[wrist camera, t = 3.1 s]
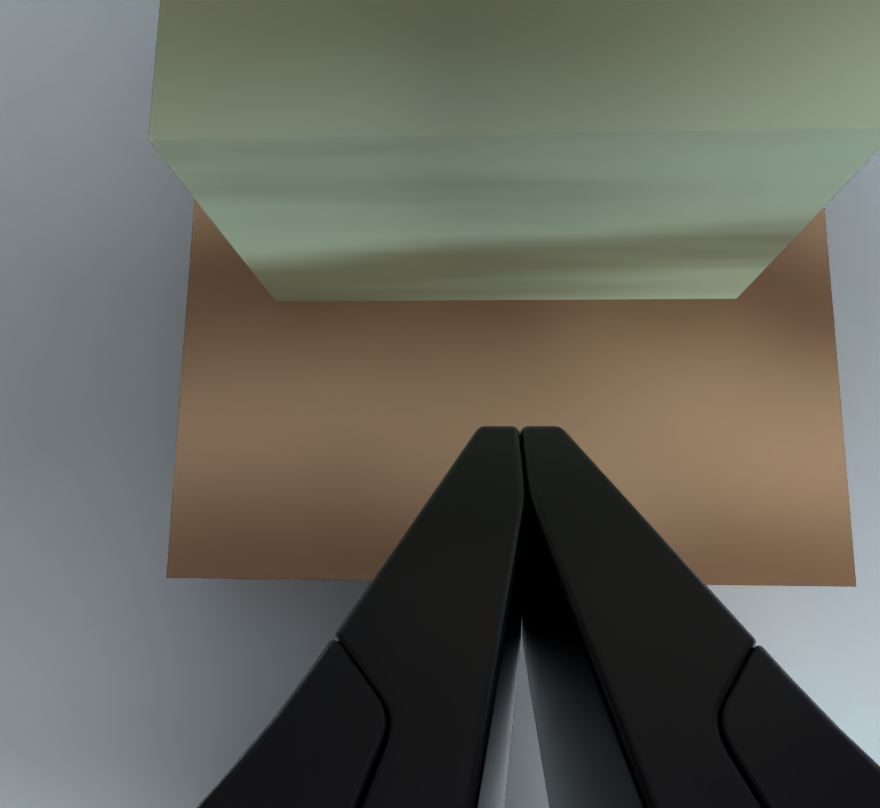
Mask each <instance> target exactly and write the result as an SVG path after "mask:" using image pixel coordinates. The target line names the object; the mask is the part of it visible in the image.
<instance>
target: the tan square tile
mask: <svg viewBox="0 0 880 808" xmlns="http://www.w3.org/2000/svg"><path fill="white" fill-rule="evenodd" d="M481 426H514V427H516V428H517V429H518V430H519V432H520V431H521V430H522V428H524V427H526V426H559V427H561V428H562V429H564V430H565V431H566V432H567V434H568V435H569V436H570V437H571V438H572V439H573V440H574V441H575V442H576V443H577V445H578V446H579V447H580V448H581V449H582V450H583V451H584V452H585V453H586V454H587V455H588V457H589V458H590V459H591V460H592V461H593V462H594V463H595V464H596V465H597V466H598V468H599V469H600V470H601V471H602V472H603V473H604V474H605V475H606V476H607V477H608V478H609V480H610V481H611V482H612V483H613V484H614V485H615V486H616V487H617V488H618V489H619V491H620V492H621V493H622V494H623V495H624V496H625V497H626V498H627V499H628V500H629V502H630V503H631V504H632V505H633V506H634V507H635V508H636V509H637V510H638V511H639V512H640V514H641V515H642V516H643V517H644V518H645V519H646V520H647V521H648V522H649V523H650V525H651V526H652V527H653V528H654V529H655V530H656V531H657V532H658V533H659V534H660V535H661V537H662V538H663V539H664V540H665V541H666V542H667V543H668V544H669V545H670V546H671V548H672V549H673V550H674V551H675V552H676V553H677V554H678V555H679V556H680V557H681V559H682V560H683V561H684V562H685V563H686V564H687V565H688V566H689V567H690V568H691V569H692V571H693V572H694V573H695V574H696V575H697V576H698V577H699V578H700V579H701V580H702V582H703V583H704V584H705V585H775V586H854V587H856V578H855V566H854V554H853V542H852V530H851V519H850V507H849V495H848V483H847V471H846V459H845V447H844V436H843V424H842V412H841V400H840V388H839V376H838V365H837V353H836V341H835V329H834V317H833V305H832V294H831V282H830V270H829V258H828V246H827V234H826V222H825V211H824V208H823V209H822V210H821V211H820V212H819V213H818V214H817V215H816V216H815V217H814V218H813V219H812V220H811V221H810V222H809V223H808V224H807V225H806V226H805V227H804V228H803V230H802V231H801V232H800V233H799V234H798V235H797V236H796V237H795V238H794V239H793V240H792V241H791V242H790V243H789V244H788V245H787V246H786V247H785V248H784V249H783V250H782V252H781V253H780V254H779V255H778V256H777V257H776V258H775V259H774V260H773V261H772V262H771V263H770V264H769V265H768V266H767V267H766V268H765V269H764V270H763V271H762V272H761V274H760V275H759V276H758V277H757V278H756V279H755V280H754V281H753V282H752V283H751V284H750V285H749V286H748V287H747V288H746V289H745V290H744V291H743V292H742V293H741V294H740V295H739V297H738V298H737V299H607V300H431V301H275V300H274V298H273V297H272V296H271V295H270V293H269V292H268V291H267V290H266V288H265V287H264V286H263V285H262V283H261V282H260V281H259V279H258V278H257V277H256V276H255V274H254V273H253V272H252V271H251V269H250V268H249V267H248V266H247V264H246V263H245V262H244V261H243V259H242V258H241V257H240V255H239V254H238V253H237V252H236V250H235V249H234V248H233V247H232V245H231V244H230V243H229V242H228V240H227V239H226V238H225V237H224V235H223V234H222V233H221V231H220V230H219V229H218V228H217V226H216V225H215V224H214V223H213V221H212V220H211V219H210V218H209V216H208V215H207V214H206V213H205V211H204V210H203V209H202V207H201V206H200V205H199V204H198V202H197V201H196V200H194V214H193V227H192V241H191V254H190V268H189V281H188V295H187V308H186V322H185V335H184V349H183V362H182V376H181V389H180V403H179V416H178V430H177V443H176V457H175V470H174V484H173V497H172V511H171V524H170V538H169V552H168V565H167V578H226V579H305V580H373V579H374V577H375V576H376V574H377V573H378V571H379V570H380V569H381V567H382V566H383V564H384V563H385V561H386V560H387V558H388V557H389V556H390V554H391V553H392V551H393V550H394V548H395V547H396V545H397V544H398V543H399V541H400V540H401V538H402V537H403V535H404V534H405V532H406V531H407V530H408V528H409V527H410V525H411V524H412V522H413V521H414V519H415V518H416V517H417V515H418V514H419V512H420V511H421V509H422V508H423V507H424V505H425V504H426V502H427V501H428V499H429V498H430V496H431V495H432V494H433V492H434V491H435V489H436V488H437V486H438V485H439V483H440V482H441V481H442V479H443V478H444V476H445V475H446V473H447V472H448V470H449V469H450V468H451V466H452V465H453V463H454V462H455V460H456V459H457V457H458V456H459V455H460V453H461V452H462V450H463V449H464V447H465V446H466V444H467V443H468V442H469V440H470V439H471V437H472V436H473V434H474V433H475V432H476V430H477V429H478V428H480V427H481Z"/></svg>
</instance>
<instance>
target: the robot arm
mask: <svg viewBox="0 0 880 808" xmlns="http://www.w3.org/2000/svg"><path fill="white" fill-rule="evenodd" d="M521 623H522V638H523V646H524V654H525V661H526V668H527V674H528V680H529V686H530V692H531V698H532V704H533V710H534V717H535V723H536V729H537V735H538V741H539V747H540V753H541V759H542V765H543V772H544V778H545V784H546V790H547V796H548V802H549V808H880V766H879V765H878V764H877V763H876V762H875V761H874V760H873V759H872V758H871V757H869V756H868V755H867V754H866V753H865V752H864V751H863V750H862V749H861V748H860V747H859V746H858V745H857V744H856V743H855V742H854V741H853V740H851V739H850V738H849V737H848V736H847V735H846V734H845V733H844V732H843V731H842V730H841V729H840V728H839V727H838V726H837V725H836V724H835V723H834V722H833V721H832V720H831V719H830V718H829V717H828V716H827V715H826V714H825V713H824V712H823V711H822V710H821V709H820V708H819V707H818V705H817V704H816V703H815V702H814V701H813V700H812V699H811V698H810V697H809V696H808V695H807V694H806V693H805V692H804V691H803V690H802V689H801V688H800V687H799V686H798V685H797V684H796V683H795V682H794V681H793V680H792V678H791V677H790V676H789V675H788V674H787V673H786V672H785V671H784V670H783V669H782V668H781V666H780V665H779V664H778V663H777V662H776V661H775V660H774V659H773V658H772V657H771V656H770V654H769V653H768V652H767V651H766V650H765V649H764V648H763V647H762V646H756V641H755V639H754V637H753V636H752V635H751V634H750V633H749V632H748V631H747V630H746V629H745V628H744V626H743V625H742V624H741V623H740V622H739V621H738V620H737V619H736V618H735V617H734V616H733V614H732V613H731V612H730V611H729V610H728V609H727V608H726V607H725V606H724V605H723V603H722V602H721V601H720V600H719V599H718V598H717V597H716V596H715V595H714V594H713V592H712V591H711V590H710V589H709V588H708V587H707V586H706V585H705V584H704V583H703V582H702V580H701V579H700V578H699V577H698V576H697V575H696V574H695V573H694V572H693V571H692V569H691V568H690V567H689V566H688V565H687V564H686V563H685V562H684V561H683V560H682V559H681V557H680V556H679V555H678V554H677V553H676V552H675V551H674V550H673V549H672V548H671V546H670V545H669V544H668V543H667V542H666V541H665V540H664V539H663V538H662V537H661V535H660V534H659V533H658V532H657V531H656V530H655V529H654V528H653V527H652V526H651V525H650V523H649V522H648V521H647V520H646V519H645V518H644V517H643V516H642V515H641V514H640V512H639V511H638V510H637V509H636V508H635V507H634V506H633V505H632V504H631V503H630V502H629V500H628V499H627V498H626V497H625V496H624V495H623V494H622V493H621V492H620V491H619V489H618V488H617V487H616V486H615V485H614V484H613V483H612V482H611V481H610V480H609V478H608V477H607V476H606V475H605V474H604V473H603V472H602V471H601V470H600V469H599V468H598V466H597V465H596V464H595V463H594V462H593V461H592V460H591V459H590V458H589V457H588V455H587V454H586V453H585V452H584V451H583V450H582V449H581V448H580V447H579V446H578V445H577V443H576V442H575V441H574V440H573V439H572V438H571V437H570V436H569V435H568V434H567V432H566V431H565V430H564V429H562V428H561V427H559V426H526V427H524V428H522V430H521V431H520V432H519V430H518V429H517V428H516V427H514V426H481V427H480V428H478V429H477V430H476V432H475V433H474V434H473V436H472V437H471V439H470V440H469V442H468V443H467V444H466V446H465V447H464V449H463V450H462V452H461V453H460V455H459V456H458V457H457V459H456V460H455V462H454V463H453V465H452V466H451V468H450V469H449V470H448V472H447V473H446V475H445V476H444V478H443V479H442V481H441V482H440V483H439V485H438V486H437V488H436V489H435V491H434V492H433V494H432V495H431V496H430V498H429V499H428V501H427V502H426V504H425V505H424V507H423V508H422V509H421V511H420V512H419V514H418V515H417V517H416V518H415V519H414V521H413V522H412V524H411V525H410V527H409V528H408V530H407V531H406V532H405V534H404V535H403V537H402V538H401V540H400V541H399V543H398V544H397V545H396V547H395V548H394V550H393V551H392V553H391V554H390V556H389V557H388V558H387V560H386V561H385V563H384V564H383V566H382V567H381V569H380V570H379V571H378V573H377V574H376V576H375V577H374V579H373V580H372V582H371V583H370V584H369V586H368V587H367V589H366V590H365V592H364V593H363V595H362V596H361V597H360V599H359V600H358V602H357V603H356V605H355V606H354V608H353V609H352V610H351V612H350V613H349V615H348V616H347V618H346V619H345V621H344V622H343V623H342V625H341V626H340V628H339V629H338V631H337V632H336V634H335V637H334V639H335V640H331V641H330V642H329V643H328V644H327V646H326V647H325V649H324V650H323V652H322V653H321V654H320V656H319V657H318V659H317V660H316V662H315V663H314V665H313V666H312V668H311V669H310V670H309V672H308V673H307V675H306V676H305V677H304V679H303V680H302V681H301V683H300V684H299V685H298V687H297V688H296V689H295V691H294V692H293V693H292V695H291V696H290V697H289V699H288V700H287V701H286V703H285V704H284V705H283V707H282V708H281V710H280V711H279V712H278V714H277V715H276V716H275V718H274V719H273V720H272V721H271V722H270V724H269V725H268V726H267V727H266V728H265V730H264V731H263V732H262V733H261V734H260V735H259V737H258V738H257V739H256V740H255V741H254V742H253V744H252V745H251V746H250V747H249V748H248V750H247V751H246V752H245V753H244V754H243V755H242V757H241V758H240V759H239V760H238V761H237V763H236V764H235V765H234V766H233V767H232V768H231V770H230V771H229V772H228V773H227V774H226V775H225V776H224V778H223V779H222V780H221V781H220V782H219V783H218V784H217V785H216V787H215V788H214V789H213V790H212V791H211V792H210V793H209V794H208V795H207V797H206V798H205V799H204V800H203V801H202V802H201V803H200V804H199V806H198V807H197V808H504V805H505V795H506V785H507V775H508V766H509V756H510V746H511V736H512V726H513V716H514V706H515V696H516V686H517V677H518V667H519V654H520V640H521Z"/></svg>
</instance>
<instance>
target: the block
mask: <svg viewBox="0 0 880 808" xmlns="http://www.w3.org/2000/svg"><path fill="white" fill-rule="evenodd" d="M148 141H149V142H150V143H151V144H152V146H153V147H154V148H155V149H156V151H157V152H158V153H159V154H160V156H161V157H162V158H163V159H164V161H165V162H166V163H167V165H168V166H169V167H170V168H171V170H172V171H173V172H174V173H175V175H176V176H177V177H178V178H179V180H180V181H181V182H182V183H183V185H184V186H185V187H186V189H187V190H188V191H189V192H190V194H191V195H192V196H193V197H194V199H195V200H196V201H197V202H198V204H199V205H200V206H201V207H202V209H203V210H204V211H205V213H206V214H207V215H208V216H209V218H210V219H211V220H212V221H213V223H214V224H215V225H216V226H217V228H218V229H219V230H220V231H221V233H222V234H223V235H224V237H225V238H226V239H227V240H228V242H229V243H230V244H231V245H232V247H233V248H234V249H235V250H236V252H237V253H238V254H239V255H240V257H241V258H242V259H243V261H244V262H245V263H246V264H247V266H248V267H249V268H250V269H251V271H252V272H253V273H254V274H255V276H256V277H257V278H258V279H259V281H260V282H261V283H262V285H263V286H264V287H265V288H266V290H267V291H268V292H269V293H270V295H271V296H272V297H273V298H274V300H275V301H431V300H607V299H737V298H738V297H739V295H740V294H741V293H742V292H743V291H744V290H745V289H746V288H747V287H748V286H749V285H750V284H751V283H752V282H753V281H754V280H755V279H756V278H757V277H758V276H759V275H760V274H761V272H762V271H763V270H764V269H765V268H766V267H767V266H768V265H769V264H770V263H771V262H772V261H773V260H774V259H775V258H776V257H777V256H778V255H779V254H780V253H781V252H782V250H783V249H784V248H785V247H786V246H787V245H788V244H789V243H790V242H791V241H792V240H793V239H794V238H795V237H796V236H797V235H798V234H799V233H800V232H801V231H802V230H803V228H804V227H805V226H806V225H807V224H808V223H809V222H810V221H811V220H812V219H813V218H814V217H815V216H816V215H817V214H818V213H819V212H820V211H821V210H822V209H823V208H824V206H825V205H826V204H827V203H828V202H829V201H830V200H831V199H832V198H833V197H834V196H835V195H836V194H837V193H838V192H839V191H840V190H841V189H842V188H843V187H844V186H845V184H846V183H847V182H848V181H849V180H850V179H851V178H852V177H853V176H854V175H855V174H856V173H857V172H858V171H859V170H860V169H861V168H862V167H863V166H864V165H865V164H866V162H867V161H868V160H869V159H870V158H871V157H872V156H873V155H874V154H875V153H876V152H877V151H878V150H879V149H880V0H160V10H159V21H158V33H157V44H156V56H155V67H154V79H153V90H152V102H151V113H150V125H149V136H148Z"/></svg>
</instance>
